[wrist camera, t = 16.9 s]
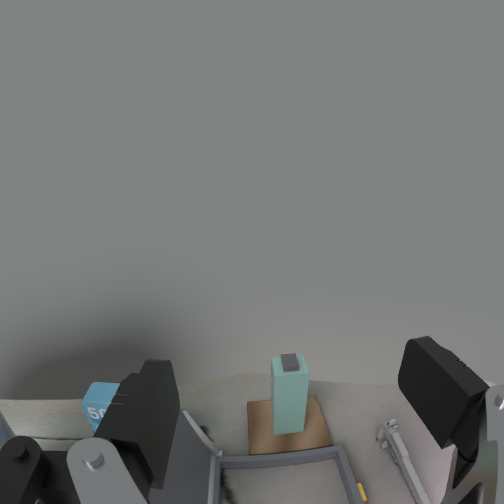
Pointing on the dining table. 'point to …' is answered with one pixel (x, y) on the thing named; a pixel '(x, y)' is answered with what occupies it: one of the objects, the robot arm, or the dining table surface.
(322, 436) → the walnut board
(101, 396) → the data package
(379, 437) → the caliper
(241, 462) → the equipment case
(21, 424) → the dining table surface
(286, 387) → the block
